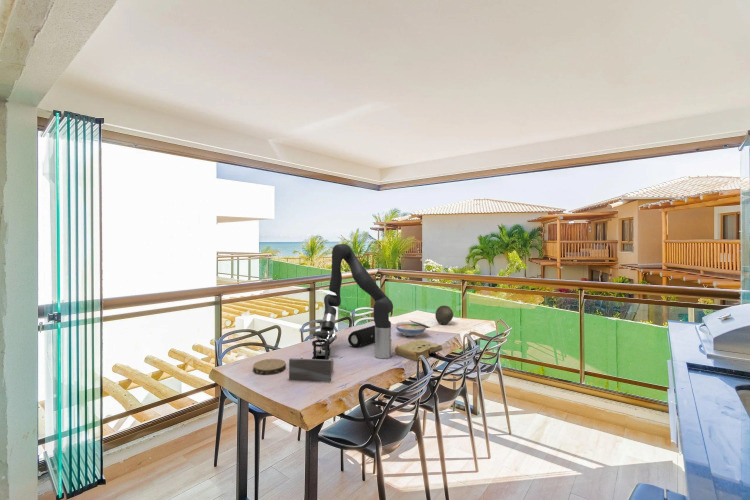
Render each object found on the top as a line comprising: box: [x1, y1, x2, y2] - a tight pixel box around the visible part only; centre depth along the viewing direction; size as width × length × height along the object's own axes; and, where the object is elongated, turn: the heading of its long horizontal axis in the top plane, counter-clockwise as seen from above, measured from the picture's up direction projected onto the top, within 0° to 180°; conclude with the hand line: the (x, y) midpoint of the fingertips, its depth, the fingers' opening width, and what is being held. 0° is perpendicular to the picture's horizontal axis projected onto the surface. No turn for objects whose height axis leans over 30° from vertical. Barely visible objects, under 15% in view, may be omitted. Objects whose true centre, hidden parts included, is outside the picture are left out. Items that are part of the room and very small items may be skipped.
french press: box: [311, 320, 331, 360], centre depth 192 cm, size 12×9×23 cm
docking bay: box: [288, 357, 334, 382], centre depth 176 cm, size 14×20×10 cm
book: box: [394, 339, 444, 363], centre depth 212 cm, size 25×17×6 cm
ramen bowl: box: [394, 319, 431, 338], centre depth 253 cm, size 25×23×8 cm
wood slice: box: [252, 358, 287, 376], centre depth 183 cm, size 16×16×3 cm
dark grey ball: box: [434, 305, 454, 325], centre depth 288 cm, size 14×14×15 cm
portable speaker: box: [347, 324, 375, 348], centre depth 232 cm, size 26×10×10 cm, turn 142°
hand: (323, 350), depth 199 cm, fingers closed
